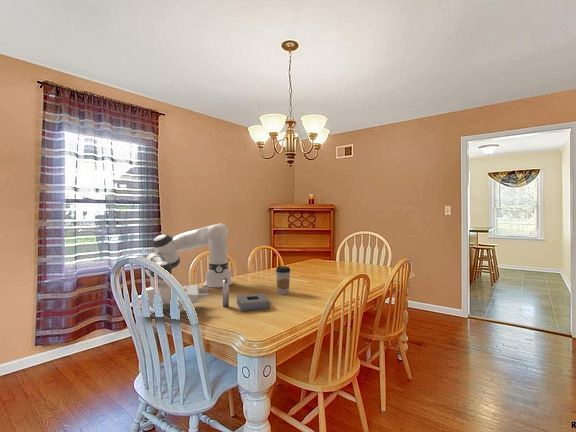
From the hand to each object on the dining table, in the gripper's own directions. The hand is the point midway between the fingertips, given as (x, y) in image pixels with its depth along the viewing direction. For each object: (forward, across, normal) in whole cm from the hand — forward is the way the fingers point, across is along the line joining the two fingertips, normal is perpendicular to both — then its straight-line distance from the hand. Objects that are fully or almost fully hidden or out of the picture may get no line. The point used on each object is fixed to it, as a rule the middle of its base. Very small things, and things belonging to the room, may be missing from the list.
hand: (208, 292), depth 151 cm
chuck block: (+22, +3, -8) cm, 23 cm away
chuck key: (+8, 0, -8) cm, 12 cm away
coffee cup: (+42, -15, -8) cm, 46 cm away
